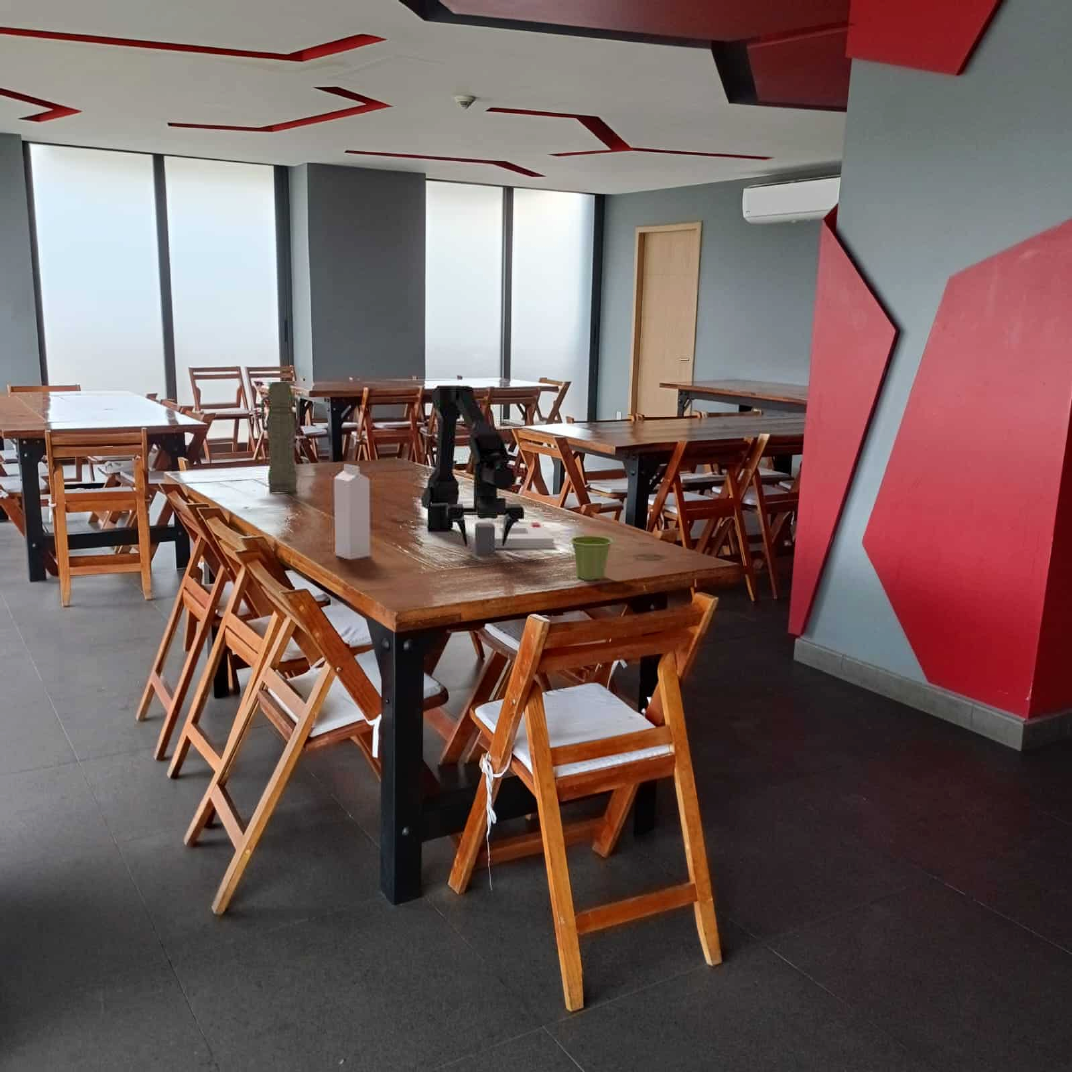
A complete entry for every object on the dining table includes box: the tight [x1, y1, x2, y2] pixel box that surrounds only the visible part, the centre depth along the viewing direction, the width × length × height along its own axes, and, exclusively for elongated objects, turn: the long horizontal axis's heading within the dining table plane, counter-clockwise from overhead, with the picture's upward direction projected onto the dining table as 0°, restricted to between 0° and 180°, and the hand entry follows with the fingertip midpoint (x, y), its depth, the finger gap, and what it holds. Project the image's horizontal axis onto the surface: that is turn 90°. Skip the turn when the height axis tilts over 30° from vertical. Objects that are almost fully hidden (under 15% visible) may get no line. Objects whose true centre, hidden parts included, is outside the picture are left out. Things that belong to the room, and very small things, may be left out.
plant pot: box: [570, 535, 613, 581], centre depth 224 cm, size 9×9×9 cm
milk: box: [333, 463, 371, 560], centre depth 236 cm, size 6×6×22 cm
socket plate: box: [493, 522, 554, 549], centre depth 259 cm, size 18×18×3 cm
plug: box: [474, 521, 496, 556], centre depth 244 cm, size 4×4×7 cm
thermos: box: [260, 381, 301, 493], centre depth 318 cm, size 9×12×35 cm
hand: (484, 545), depth 244 cm, fingers open, 9 cm apart
